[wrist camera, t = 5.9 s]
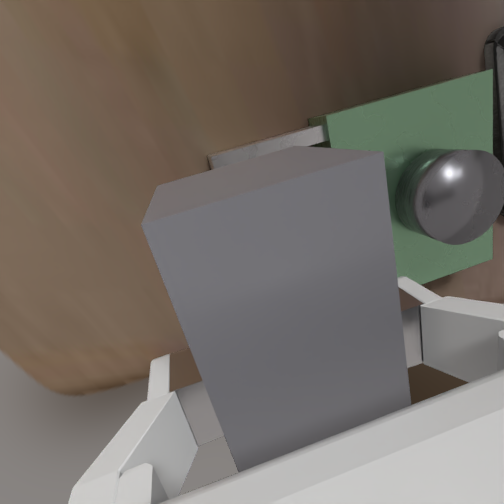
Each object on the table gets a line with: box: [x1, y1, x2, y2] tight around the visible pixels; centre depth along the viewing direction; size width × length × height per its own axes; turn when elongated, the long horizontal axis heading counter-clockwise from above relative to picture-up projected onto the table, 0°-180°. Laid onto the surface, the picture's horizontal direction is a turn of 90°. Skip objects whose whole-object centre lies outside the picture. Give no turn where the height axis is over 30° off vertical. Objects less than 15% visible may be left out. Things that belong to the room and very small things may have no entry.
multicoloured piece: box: [207, 69, 504, 285], centre depth 24 cm, size 14×20×6 cm
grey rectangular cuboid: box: [141, 146, 411, 472], centre depth 10 cm, size 9×4×5 cm, turn 16°
